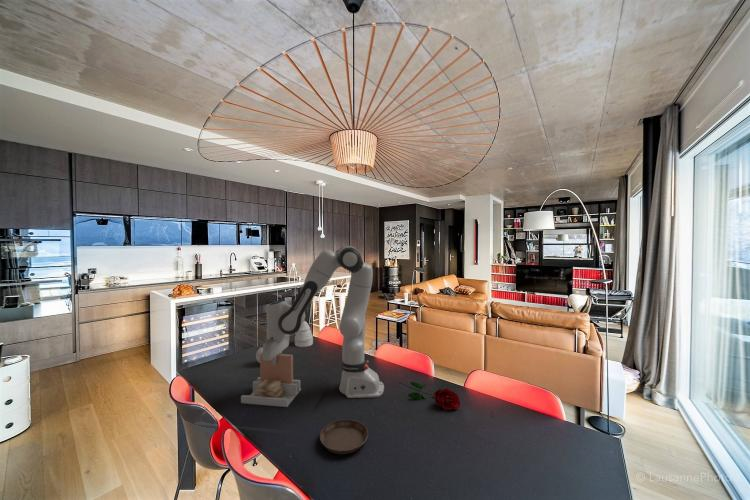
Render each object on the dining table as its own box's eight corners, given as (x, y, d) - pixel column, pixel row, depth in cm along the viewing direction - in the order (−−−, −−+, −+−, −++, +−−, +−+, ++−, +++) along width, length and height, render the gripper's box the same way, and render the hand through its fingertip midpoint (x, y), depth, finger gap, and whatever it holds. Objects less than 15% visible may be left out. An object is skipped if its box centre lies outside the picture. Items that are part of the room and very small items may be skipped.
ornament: (252, 365, 171) (252, 345, 171) (263, 359, 181) (263, 340, 181) (266, 367, 168) (266, 347, 168) (277, 360, 178) (277, 341, 178)
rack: (301, 390, 142) (301, 378, 142) (287, 409, 126) (286, 395, 126) (260, 387, 145) (260, 375, 145) (241, 405, 129) (240, 392, 129)
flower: (397, 372, 138) (460, 392, 124) (403, 374, 145) (463, 393, 131) (392, 392, 134) (457, 414, 121) (399, 393, 142) (460, 414, 128)
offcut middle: (282, 390, 135) (282, 385, 135) (276, 397, 129) (276, 392, 129) (263, 389, 137) (263, 384, 137) (256, 396, 131) (256, 390, 131)
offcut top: (280, 385, 135) (280, 380, 135) (274, 392, 129) (274, 387, 129) (265, 384, 136) (265, 379, 136) (258, 391, 130) (258, 385, 130)
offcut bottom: (284, 396, 135) (284, 391, 135) (278, 403, 129) (278, 397, 129) (261, 394, 137) (261, 389, 137) (254, 401, 131) (254, 395, 131)
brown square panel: (293, 391, 139) (292, 354, 139) (291, 393, 137) (291, 356, 137) (262, 389, 142) (262, 352, 141) (260, 391, 140) (260, 354, 139)
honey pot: (291, 345, 205) (290, 320, 204) (301, 339, 217) (301, 316, 217) (306, 347, 201) (306, 322, 200) (316, 341, 213) (316, 317, 213)
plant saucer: (344, 420, 118) (344, 413, 118) (377, 439, 107) (377, 431, 107) (309, 443, 105) (309, 435, 105) (343, 467, 94) (343, 458, 93)
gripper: (271, 341, 128) (271, 372, 129) (291, 328, 148) (291, 354, 149) (258, 341, 129) (258, 371, 129) (279, 328, 149) (280, 354, 150)
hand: (276, 362), depth 139 cm, fingers closed on brown square panel, 2 cm apart
